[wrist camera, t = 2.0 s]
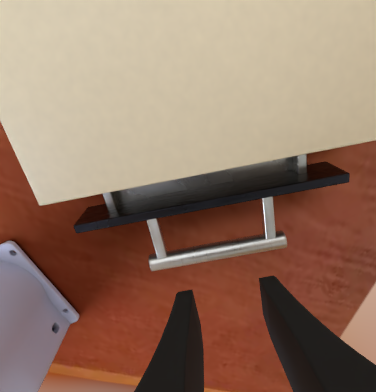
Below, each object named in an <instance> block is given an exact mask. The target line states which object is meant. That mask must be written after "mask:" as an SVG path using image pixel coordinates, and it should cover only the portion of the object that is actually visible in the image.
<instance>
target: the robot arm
mask: <svg viewBox="0 0 376 392" xmlns="http://www.w3.org/2000/svg"><path fill="white" fill-rule="evenodd" d="M13 251H15V252H16V253H15V252H13ZM259 282H260V291H261V299H262V308H263V315H264V318H265V321H266V325H267V328H268V331H269V334H270V337H271V340H272V342H273V345H274V347H275V350H276V352H277V354H278V357H279V359H280V361H281V364H282V366H283V368H284V371H285V373H286V375H287V378H288V380H289V382H290V385H291V387H292V389H293V392H376V365H375V364H373V363H372V362H371V361H369V360H368V359H366V358H365V357H364V356H362V355H361V354H359V353H358V352H357V351H355V350H354V349H353V348H351V347H350V346H349V345H347V344H346V343H345V342H344V341H342V340H341V339H340V338H339V337H337V336H336V335H335V334H334V333H333V332H331V331H330V330H329V329H328V328H327V327H326V326H324V325H323V324H322V323H321V322H320V321H319V320H318V319H316V318H315V317H314V316H313V315H312V314H311V313H310V312H309V311H308V310H307V309H306V308H305V307H304V306H303V305H301V304H300V303H299V302H298V301H297V300H296V299H295V298H294V297H293V295H292V294H291V293H290V292H289V291H288V290H287V289H286V288H285V287H284V286H283V285H282V284H281V283H280V281H279V280H278V279H277V278H276V277H275V276H269V277H263V278H259ZM66 309H67V310H66ZM78 318H79V314H78V313H77V311H76V310H75V309H74V308H73V307H72V306H71V305H70V304H69V302H68V301H67V300H66V299H65V298H64V297H63V296H62V295H61V293H60V292H59V291H58V290H57V289H56V288H55V287H54V286H53V284H52V283H51V282H50V281H49V280H48V279H47V278H46V277H45V275H44V274H43V273H42V272H41V271H40V270H39V269H38V268H37V266H36V265H35V264H34V263H33V262H32V261H31V260H30V259H29V257H28V256H27V255H26V254H25V253H24V252H23V251H22V250H21V248H20V247H19V246H18V245H17V244H16V243H15V242H13V241H6V242H4V243H2V244H0V392H38V390H39V388H40V387H41V384H42V383H43V381H44V378H45V376H46V374H47V372H48V370H49V368H50V366H51V364H52V361H53V359H54V357H55V355H56V353H57V351H58V349H59V347H60V345H61V342H62V340H63V338H64V336H65V334H66V332H67V330H68V328H69V326H70V324H71V323H74V322H76V321H77V320H78ZM134 392H204V361H203V342H202V333H201V324H200V320H199V316H198V312H197V308H196V304H195V300H194V295H193V291H192V290H188V291H182V292H178V293H177V294H176V298H175V301H174V305H173V308H172V311H171V314H170V317H169V320H168V322H167V325H166V327H165V330H164V333H163V335H162V338H161V340H160V342H159V344H158V346H157V349H156V351H155V353H154V355H153V357H152V360H151V362H150V364H149V366H148V368H147V369H146V371H145V373H144V375H143V377H142V379H141V381H140V382H139V384H138V386H137V388H136V390H135V391H134Z"/></svg>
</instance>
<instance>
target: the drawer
mask: <svg viewBox="0 0 376 392" xmlns="http://www.w3.org/2000/svg"><path fill="white" fill-rule="evenodd" d="M347 182H349V173H347V172H346V171H344V170H342V169H340V168H338V167H336V166H334V165H332V164H330V163H328V162H320V163H315V164H310V165H307V156H306V154H303V155H298V156H293V157H288V158H283V159H278V160H272V161H267V162H262V163H257V164H252V165H247V166H242V167H237V168H232V169H226V170H221V171H216V172H211V173H206V174H201V175H196V176H191V177H185V178H180V179H175V180H170V181H165V182H160V183H155V184H150V185H145V186H139V187H134V188H129V189H124V190H119V191H114V192H109V193H104V194H103V197H104V200H105V203H106V204H103V205H97V206H92V207H88V208H87V209H86V210H85V212H84V213H83V214H82V216H81V217H80V218H79V219H78V221H77V222H76V223H75V224H74V229H75V231H76V233H81V232H86V231H92V230H97V229H102V228H108V227H113V226H118V225H124V224H129V223H134V222H140V221H145V220H146V221H147V224H148V228H149V231H150V235H151V238H152V241H153V245H154V248H155V252H156V253H154V254H150V255H149V267H150V269H151V271H157V270H162V269H168V268H174V267H179V266H185V265H191V264H196V263H202V262H208V261H213V260H219V259H225V258H230V257H236V256H242V255H247V254H253V253H259V252H264V251H270V250H276V249H281V248H286V247H287V239H286V236H285V234H284V232H283V231H276V232H275V219H274V206H273V196H278V195H283V194H289V193H294V192H299V191H305V190H310V189H315V188H321V187H326V186H331V185H337V184H342V183H347ZM257 199H260V205H261V215H262V225H263V234H260V235H254V236H249V237H243V238H237V239H232V240H226V241H221V242H215V243H210V244H204V245H199V246H193V247H188V248H182V249H177V250H171V251H167V248H166V244H165V241H164V237H163V233H162V230H161V226H160V222H159V219H158V218H161V217H166V216H172V215H177V214H182V213H188V212H193V211H198V210H204V209H209V208H214V207H220V206H225V205H230V204H236V203H241V202H246V201H251V200H257Z"/></svg>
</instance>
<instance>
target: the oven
mask: <svg viewBox="0 0 376 392" xmlns="http://www.w3.org/2000/svg"><path fill="white" fill-rule="evenodd" d="M0 121H1V123H2V125H3V128H4V130H5V132H6V134H7V136H8V138H9V141H10V143H11V145H12V147H13V149H14V151H15V154H16V156H17V158H18V160H19V162H20V164H21V167H22V169H23V171H24V173H25V175H26V177H27V180H28V182H29V184H30V186H31V188H32V190H33V193H34V195H35V197H36V199H37V201H38V203H39V205H40V206H42V205H47V204H52V203H58V202H63V201H68V200H73V199H78V198H83V197H88V196H93V195H98V194H104V193H109V192H114V191H119V190H124V189H129V188H134V187H139V186H145V185H150V184H155V183H160V182H165V181H170V180H175V179H180V178H185V177H191V176H196V175H201V174H206V173H211V172H216V171H221V170H226V169H232V168H237V167H242V166H247V165H252V164H257V163H262V162H267V161H272V160H278V159H283V158H288V157H293V156H298V155H303V154H308V153H313V152H319V151H324V150H329V149H334V148H339V147H344V146H349V145H354V144H359V143H365V142H370V141H375V140H376V0H0Z"/></svg>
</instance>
